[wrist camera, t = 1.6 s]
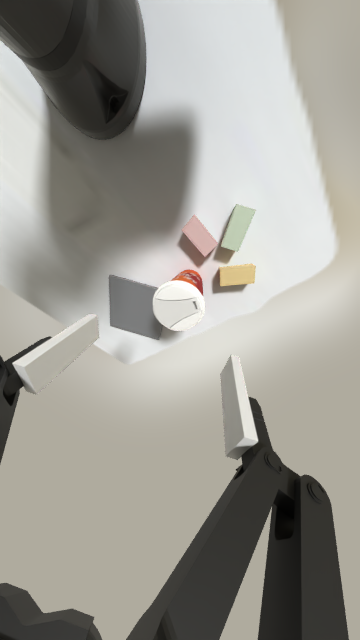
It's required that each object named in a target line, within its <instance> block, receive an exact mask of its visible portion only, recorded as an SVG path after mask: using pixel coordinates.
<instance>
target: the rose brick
mask: <svg viewBox="0 0 360 640" xmlns="http://www.w3.org/2000/svg"><path fill="white" fill-rule="evenodd" d="M182 231H183V232H184V234H185V235H186V236H187V237H188V238H189V239H190V240H191V242H192V243H193V244H194V245H195V246H196V247H197V249H198V250H199V251H200V252H201V253H202V254H203V256H204V257H205V256H206V255H208V254H209V253H210V252H211V251H212V250H213V249H214V248H215V247H216V246H217V245H218V243H217V242H216V240H215V239H214V238H213V237H212V235H211V234H210V233H209V232H208V230H207V229H206V228H205V227H204V226H203V224H202V223H201V222H200V221H199V219H198V218H197V217H196V216H195V215H194V216H193V217H192V218H191V219H190V220H189V222H188V223H187V224H186V225H185V226H184V228H183V229H182Z"/></svg>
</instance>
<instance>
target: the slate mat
mask: <svg viewBox="0 0 360 640" xmlns="http://www.w3.org/2000/svg"><path fill="white" fill-rule="evenodd" d="M157 289H158V288H157V287H153V286H149V285H146V284H142V283H139V282H135V281H132V280H128V279H124V278H121V277H117V276H114V275H109V295H110V326H113V327H117V328H120V329H124V330H127V331H130V332H134V333H137V334H141V335H144V336H147V337H151V338H154V339H158V340H159V339H160V335H161V329H162V324H161V323H160V322H159V321H158V320H157V318H156V317H155V315H154V312H153V297H154V294H155V292H156V291H157Z"/></svg>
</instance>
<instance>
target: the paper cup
mask: <svg viewBox="0 0 360 640" xmlns="http://www.w3.org/2000/svg"><path fill="white" fill-rule="evenodd" d="M153 312H154V315H155V317H156V318H157V320H158V321H159V322H160V323H161V324H162V325H164V326H165V327H167V328H168V329H170V330H174V331H185V330H188V329H190V328H192V327H194V326H195V325H196V324H198V323H199V322H200V320H201V319H202V317H203V315H204V312H205V302H204V298H203V286H202V279H201V277H200V275H199V274H198V273H197V272H196V271H193V270H185V271H183V272H181V273H180V274H178V275H177V276H176V277H175V278H173V279H172V280H171V281H169V282H166V283H164V284H163V285H161V286H160V287H159V288H158V289H157V291H156V292H155V294H154V297H153Z"/></svg>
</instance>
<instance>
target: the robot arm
mask: <svg viewBox="0 0 360 640" xmlns="http://www.w3.org/2000/svg"><path fill="white" fill-rule="evenodd" d="M0 40H1V41H2V42H3V43H4V44H5V45H6V46H7V47H9V48H10V49H11V50H12V51H13V52H14V53H15V54H16V55H17V56H18V57H19V58H20V59H21V60H22V61H23V62H24V64H25V65H26V67H27V68H28V69H29V71H30V72H31V74H32V75H33V76H34V78H35V79H36V80H37V82H38V83H39V85H40V86H41V87H42V89H43V90H44V91H45V93H46V94H47V96H48V97H49V99H50V100H51V102H52V103H53V105H54V106H55V107H56V109H57V110H58V111H59V112H60V113H61V114H62V115H63V116H64V117H65V118H66V119H67V120H68V121H69V122H70V123H71V124H72V125H74V126H75V127H76V128H78V129H79V130H80V131H81V132H83V133H84V134H86V135H88V136H90V137H92V138H96V139H110V138H113V137H115V136H117V135H118V134H120V133H121V132H122V131H123V130H124V129H125V128H126V127H127V126H128V125H129V124H130V122H131V120H132V119H133V117H134V115H135V113H136V111H137V109H138V106H139V103H140V100H141V96H142V92H143V88H144V82H145V73H146V42H145V32H144V25H143V20H142V15H141V11H140V7H139V3H138V0H0ZM98 338H99V328H98V315H94V314H91V313H90V314H88V315H87V316H85V317H83V318H82V319H80V320H79V321H77V322H76V323H74V324H73V325H71V326H69V327H68V328H66V329H65V330H63V331H62V332H60V333H59V334H57V335H56V336H54V337H46V338H44V339H41V340H39V341H38V342H36V343H34V345H31V346H29V347H28V348H27V349H24V350H23V351H21V352H20V353H18V354H16V355H15V356H13V357H11V358H10V359H8V360H7V361H5V362H4V361H3V359H2V357H1V356H0V463H1V459H2V456H3V452H4V448H5V444H6V441H7V438H8V434H9V430H10V427H11V423H12V419H13V416H14V412H15V408H16V405H17V401H18V397H19V394H20V393H19V389H20V388H22V387H23V386H24V387H25V390H26V391H28V392H30V393H33V394H38V393H39V392H40V391H41V390H42V389H43V388H44V387H45V386H47V385H48V384H49V383H50V382H51V381H52V380H53V379H54V378H55V377H57V375H59V374H60V373H61V372H62V371H63V370H64V369H65V368H66V367H67V366H69V365H70V364H71V363H72V362H73V361H74V360H75V359H76V358H77V357H78V356H80V355H81V353H83V352H84V351H85V350H86V349H87V348H88V347H89V346H91V345H92V344H93V343H94V342H95V341H96V340H97V339H98ZM221 391H222V405H223V422H224V437H225V452H226V456H227V457H230V458H233V459H236V460H238V459H239V458H240V457H242V465H241V466H240V467H239V468H237V469H236V471H237V472H236V474H235V475H234V477H233V479H232V480H231V482H230V483H229V485H228V486H227V488H226V490H225V491H224V493H223V494H222V496H221V498H220V499H219V500H218V502H217V504H216V505H215V507H214V508H213V510H212V511H211V513H210V515H209V516H208V518H207V519H206V521H205V522H204V524H203V525H202V527H201V528H200V530H199V532H198V533H197V535H196V536H195V538H194V539H193V541H192V543H191V544H190V546H189V547H188V549H187V550H186V552H185V553H184V555H183V557H182V558H181V560H180V561H179V563H178V564H177V566H176V568H175V569H174V571H173V572H172V574H171V575H170V577H169V579H168V580H167V582H166V583H165V585H164V586H163V588H162V589H161V591H160V592H159V594H158V596H157V597H156V599H155V600H154V602H153V603H152V605H151V606H150V607H149V609H148V610H147V611H146V612H145V613H144V614H143V616H142V617H141V618H140V619H139V621H138V622H137V624H136V625H135V627H134V628H133V630H132V631H131V633H130V635H129V636H128V638H127V639H126V640H219V639H220V636H221V633H222V631H223V629H224V626H225V623H226V621H227V618H228V616H229V613H230V611H231V608H232V606H233V603H234V601H235V598H236V595H237V593H238V590H239V588H240V585H241V583H242V580H243V578H244V575H245V573H246V570H247V568H248V565H249V563H250V560H251V558H252V554H253V553H254V550H255V547H256V545H257V542H258V540H259V537H260V535H261V532H262V530H263V527H264V524H265V522H266V520H267V517H268V515H269V512H270V509H271V507H272V513H271V523H270V532H269V541H268V551H267V560H266V569H265V579H264V587H263V597H262V607H261V615H260V625H259V635H258V640H349V639H348V630H347V622H346V615H345V607H344V599H343V591H342V584H341V576H340V568H339V561H338V553H337V545H336V537H335V530H334V522H333V515H332V507H331V503H330V499H329V497H328V495H327V493H326V491H325V490H324V488H323V487H322V486H321V484H320V483H319V482H318V481H317V480H315V479H314V478H313V477H311V476H309V475H303V476H299V475H298V474H296V473H295V472H293V471H292V470H290V469H289V468H287V467H286V466H285V465H284V464H283V463H282V462H281V460H280V458H279V457H278V455H277V454H276V453H275V452H274V451H273V449H272V446H271V442H270V439H269V436H268V432H267V428H266V425H265V422H264V418H263V416H262V411H261V407H260V406H259V404H258V402H257V400H256V399H254V398H251V397H248V395H247V390H246V385H245V381H244V376H243V372H242V368H241V363H240V359H239V357H237V356H233V355H231V356H230V357H229V360H228V361H227V363H226V365H225V367H224V369H223V371H222V372H221ZM93 620H94V617H92V616H90V615H87V614H84V613H82V612H80V611H77V610H74V609H68V610H62V611H56V612H51V613H43V612H42V611H41V610H40V608H39V607H38V606H37V604H36V603H35V601H34V600H33V599H32V597H31V596H30V594H29V593H28V592H27V591H26V590H23V589H20V588H18V587H15V586H12V585H10V584H8V583H1V584H0V640H102V638H101V636H100V633H99V631H98V629H97V628H96V627H95V625H94V624H93Z"/></svg>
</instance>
